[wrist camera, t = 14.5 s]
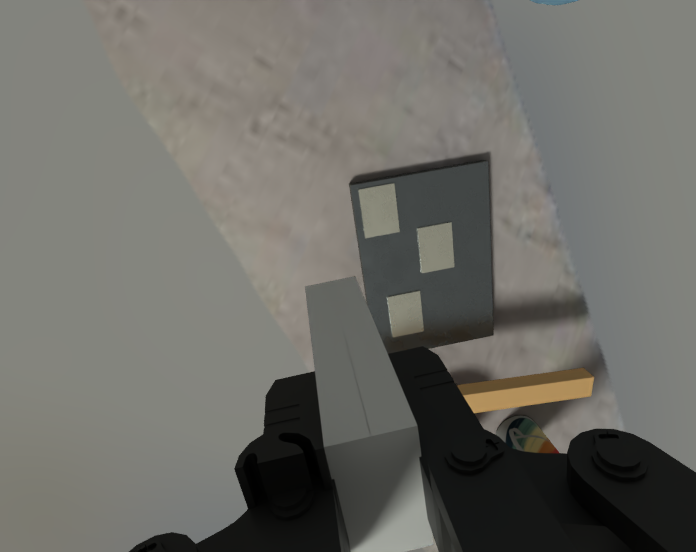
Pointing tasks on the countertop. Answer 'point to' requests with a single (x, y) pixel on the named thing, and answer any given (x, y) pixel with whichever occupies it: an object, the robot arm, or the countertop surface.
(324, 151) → the countertop surface
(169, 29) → the countertop surface
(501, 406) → the cable arm
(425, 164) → the countertop surface
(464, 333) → the plate
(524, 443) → the lotion bottle
